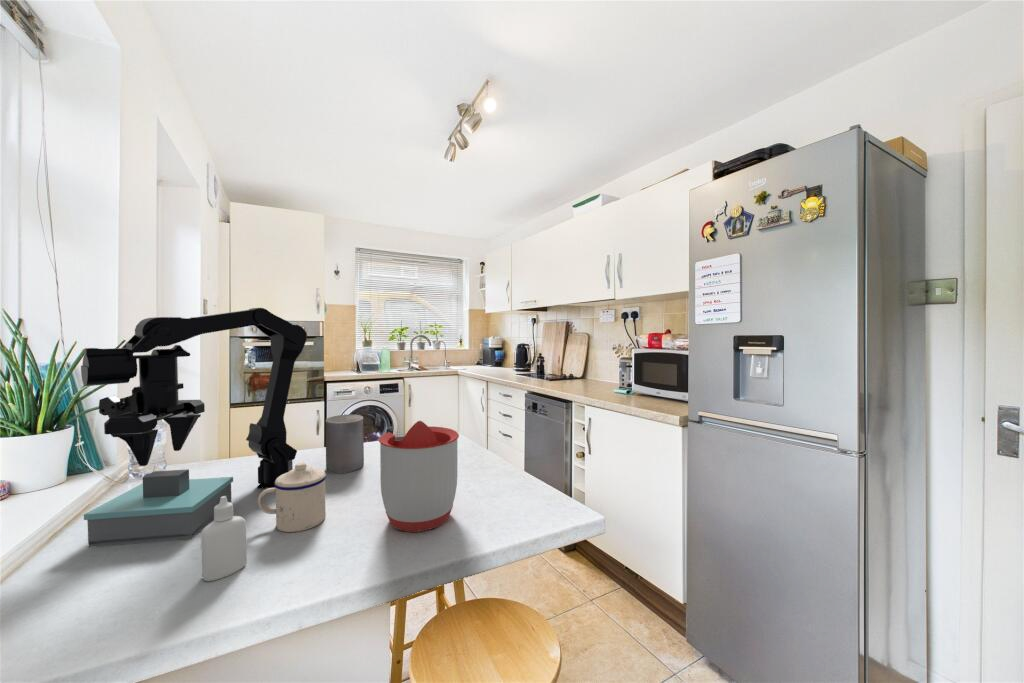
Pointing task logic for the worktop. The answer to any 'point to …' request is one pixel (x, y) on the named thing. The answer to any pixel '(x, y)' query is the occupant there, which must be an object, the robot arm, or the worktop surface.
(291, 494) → the teacup with lid
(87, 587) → the worktop surface
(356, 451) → the pillar candle
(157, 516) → the tub
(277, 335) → the robot arm
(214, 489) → the lid
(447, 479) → the citrus juicer
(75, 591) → the worktop surface
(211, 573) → the eye dropper bottle
